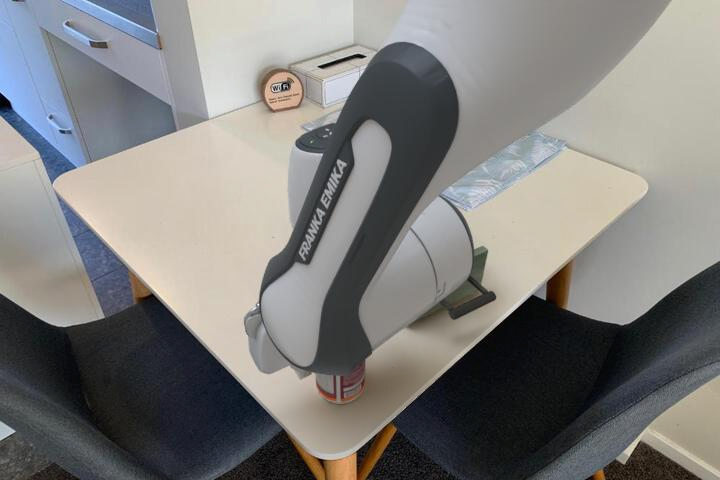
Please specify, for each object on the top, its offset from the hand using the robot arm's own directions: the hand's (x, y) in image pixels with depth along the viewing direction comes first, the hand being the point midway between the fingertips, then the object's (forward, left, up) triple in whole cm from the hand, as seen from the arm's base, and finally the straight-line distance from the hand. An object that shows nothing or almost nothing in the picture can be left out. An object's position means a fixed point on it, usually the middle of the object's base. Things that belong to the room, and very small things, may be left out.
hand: (338, 356), depth 62 cm
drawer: (+7, -19, -4) cm, 21 cm away
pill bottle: (0, 0, -5) cm, 5 cm away
